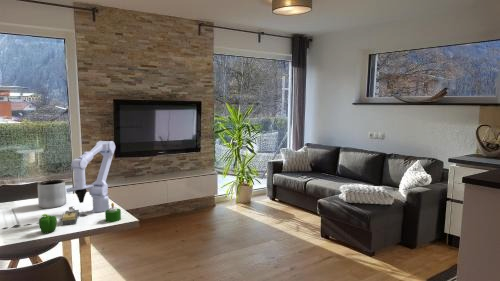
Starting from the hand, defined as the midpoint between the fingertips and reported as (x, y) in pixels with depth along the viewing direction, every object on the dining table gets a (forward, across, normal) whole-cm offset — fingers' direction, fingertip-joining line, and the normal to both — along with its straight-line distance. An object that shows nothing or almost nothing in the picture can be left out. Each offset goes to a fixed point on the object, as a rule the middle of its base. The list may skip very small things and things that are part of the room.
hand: (81, 202), depth 212 cm
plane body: (+9, +6, -2) cm, 11 cm away
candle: (+10, -12, +16) cm, 22 cm away
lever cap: (+7, +8, +3) cm, 11 cm away
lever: (+7, +4, -6) cm, 10 cm away
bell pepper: (+10, +21, +11) cm, 25 cm away
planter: (+10, +4, -41) cm, 42 cm away
